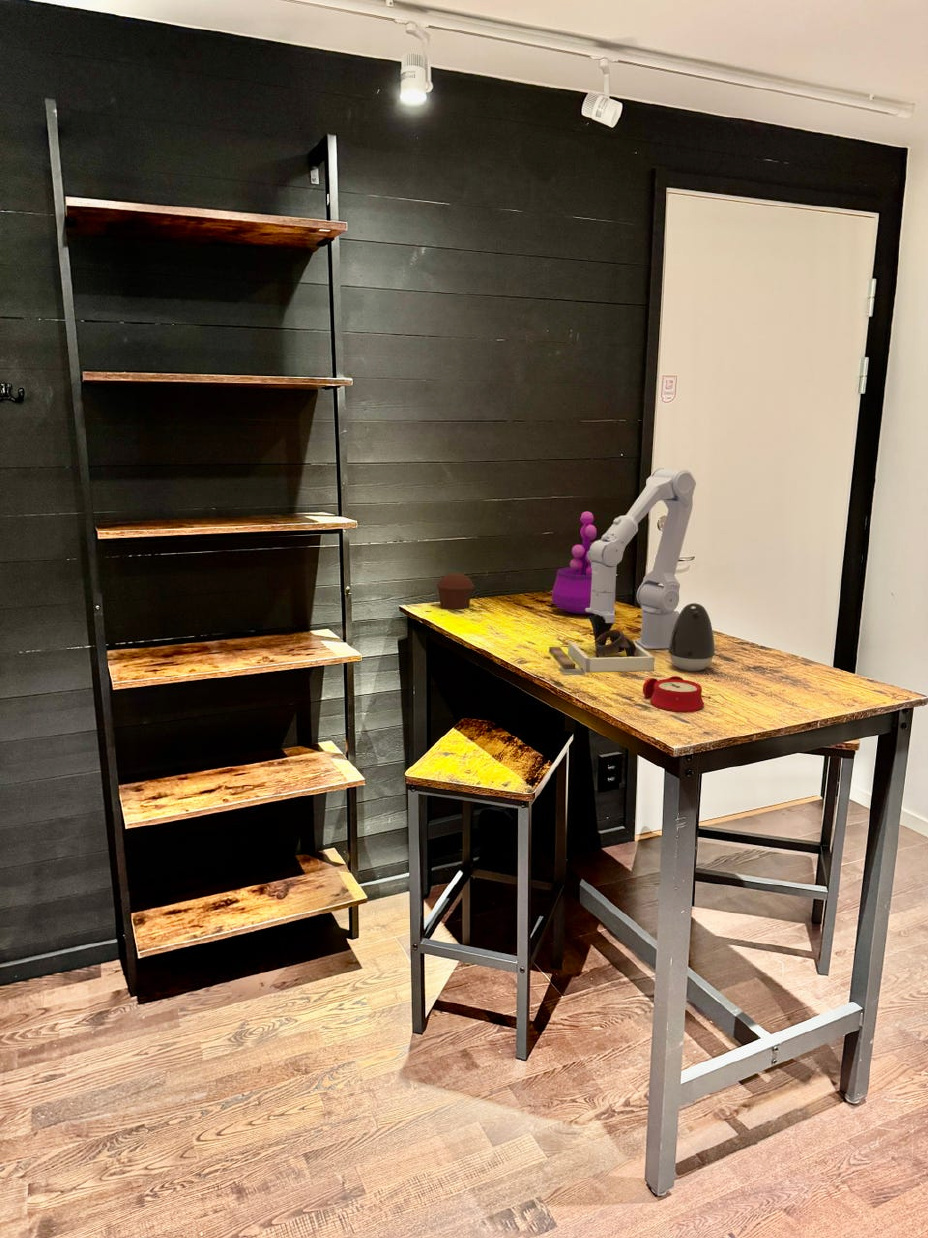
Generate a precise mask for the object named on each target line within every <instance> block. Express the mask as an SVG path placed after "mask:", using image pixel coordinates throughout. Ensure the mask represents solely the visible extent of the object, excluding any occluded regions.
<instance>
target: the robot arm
mask: <svg viewBox="0 0 928 1238" xmlns="http://www.w3.org/2000/svg"><path fill="white" fill-rule="evenodd" d="M645 483H646V484H645V485H646V486H645V487H644V489H642V492H641V493H640V494H639V496H638V498H636V500H635V501H634V503H633V504H632V506H631V507H630V509H629V510H628V512H627V513H626V514H625V515H620V516H618V517H615V518H614V520H613V523H612V524H611V526H610V527H609V528H608V529H607V531H606V532H605V533H604V534H603V535H602V536H601V538H600V539H598V540H595V541H593V542H594V543H593V544H592V545H591V547H590V550H589V551H588V552H587V554H588V558H589V560H590V562H591V568H592V583H591V603H590V608H586V609H585V611H586V612H591V613H594V614H593V615H589V616H588V619H589V622H590V624H591V627H592V631H593V637H594V639H593V640H594V645H595V644H596V643H597V642H596V640H597V638H598V637H599V636H601V635H602V634H603V633H605V632H607V631H610V630H612V627H613V626H614V624H615V622H616V615H615V614H616V609H615V603H616V585H617V584H616V582H617V565H619V563H621V562H622V560H623V557H624V552H625V549H626V546H627V545H628V544H629V543H630V542H631V541H632V539H633V537H634V536H635V535H637V532H638V531H639V526H638V524H639V523H640V522H641V520H642V519H643V518H645V516H647V514H648V513H649V512H650V511H651V510H652V509H653V507H655V506H656V504H657V503H658V502H659V501H662V502H663V503H664V504H665V505H666V507H667V509H668V511H667V514H666V517H665V521H664V525H663V529H662V532H661V536H660V541H659V544H658V547H657V548H658V549H657V551H656V556H655V560H654V563H653V568H652V570H651V571H650V572H649V573H647V574H645V575H644V577H643V580H642V583H641V584H640V585H639V587H638V589H637V592H636V600H637V603H638V604H639V605H640V609H641V611H642V613H641V623H640V624H641V626H640V639H634V642H635V643H636V644H638V645H639V646H640V647H642V648H643V649H644V650H651V649H652V650H654V649H655V650H656V649H659V650H661V649H662V650H663V649H667V650H668V649H669V643H670V639H671V635H672V632H673V629H674V626H675V623H676V620H677V618H678V616H679V614H680V612H679V611H678V610H676V608H677V607H678V605H679V603H680V587H681V584H680V582H679V580H678V579H677V578H676V577H675V575H676V571H677V567H678V562H679V559H680V555H681V551H682V548H683V544H684V540H685V537H686V533H687V529H688V526H689V522H690V518H691V514H692V511H693V507H694V506H693V504H694V503H693V497H694V491H695V488H696V485H697V482H696V480H695V478H694V476H693V475H692V473H691V472H690V471H689V470H687V469H669V468H668V469H667V468H666V469H665V468H663V467H662V468H661V467H659V468H656V469H654V470H653V471H652V473H651V475H650V476H648V478H646V482H645ZM607 641H608V639H606V640H604V641H603V642H602V643H601V644H600V645H607Z"/></svg>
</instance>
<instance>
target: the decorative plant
mask: <svg viewBox="0 0 928 1238" xmlns="http://www.w3.org/2000/svg"><path fill="white" fill-rule="evenodd" d="M579 519H580V522H581V524H583V525H582V527H581V528H580V531H579V532H580V536H581V538H582V544H575V545H573V546H572V548H571V554H572V556H573V559H571V560H570V562H569V566H570V567H569V566H568V567H562V568H559V569H557V572H556V577H555V582H554V585H553V587H552V590H551V591H552V593H551V601H552V603H553V604H554V605H555V606H556V607H557V608H558V609H560V610H562V611H565V612H568V613H571V614H576V615H577V614H578V615H595V614H594V613H591V612H586V611H585V609H586V608H590V603H591V583H592V568H591V562H590V560H589V558H588V554H587V552H588V551H589V550H590V547H591V545H592V544H593V543H594V542H595V541H592V540H594V539H595V538H597V537H596V536H597V528H596V526H595V525H594V524H593V522H594V519H595V517H594V514H593V513H592V512H591V511H583V512H582V513H581V516H580V517H579ZM590 541H592V542H590Z"/></svg>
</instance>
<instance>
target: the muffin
mask: <svg viewBox="0 0 928 1238" xmlns="http://www.w3.org/2000/svg"><path fill="white" fill-rule="evenodd" d="M436 588H437V591H438V597H439V605H440V608H441V609H445V610H453V611H459V610H467V609H469V608H470V603H471V597H472V591H473V589H474V588H475V585H474V583H473V581H472V580H471V579H470V578H469V577H468V576H466V575H465V574H461V573H454V572H453V573H448V574H446V575H445V574H444V576H442V577H440V579H439V580H438V582H437V583H436Z"/></svg>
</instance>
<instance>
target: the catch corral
mask: <svg viewBox="0 0 928 1238" xmlns="http://www.w3.org/2000/svg"><path fill="white" fill-rule="evenodd" d="M633 642H634V644H635V646H636V651H637V657H626V656H622V657H621V656H614V657H609V656H607V657H599V658H597V657H589V656H588V655H587V654H586V653H585V652H584V651H583V650H582V649H581V648H580V647H579V646H578V645H577V644H576V643H574V642H573V641H568V644H567V646H568V648H567V649H568V650H567V655H568V656H570V657H571V659H573V661H575V662H574V663H575V664H577V665H578V666H579V668H580V669H581V670H582V671H583V672H584V673H601V672H602V673H604V672H640V671H641V672H642V671H644V672H647V671H655V661H656V657H655V656H654V655H652V654H651V653H649V652H648V651H647V649H644V648H643V647H642V646H640V645H639V644H638V643H636V642H635V640H633Z"/></svg>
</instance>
